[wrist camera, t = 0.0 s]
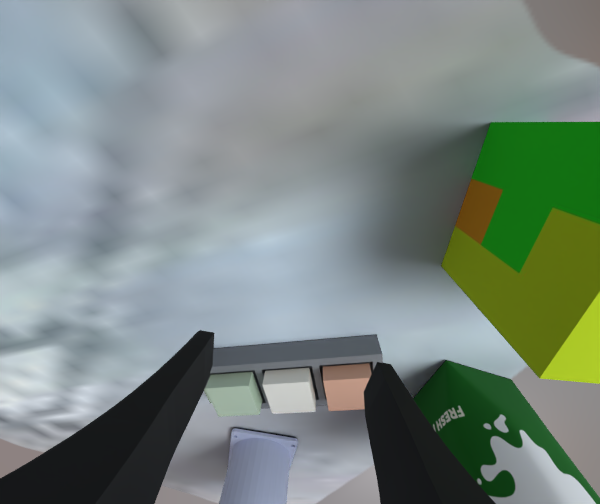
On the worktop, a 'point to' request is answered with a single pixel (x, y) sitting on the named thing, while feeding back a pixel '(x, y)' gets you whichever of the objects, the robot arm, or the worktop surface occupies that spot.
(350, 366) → the terracotta key
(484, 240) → the puzzle toy
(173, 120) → the worktop surface
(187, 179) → the worktop surface
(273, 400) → the cream key
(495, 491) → the milk carton
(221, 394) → the sage key
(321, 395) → the key panel
